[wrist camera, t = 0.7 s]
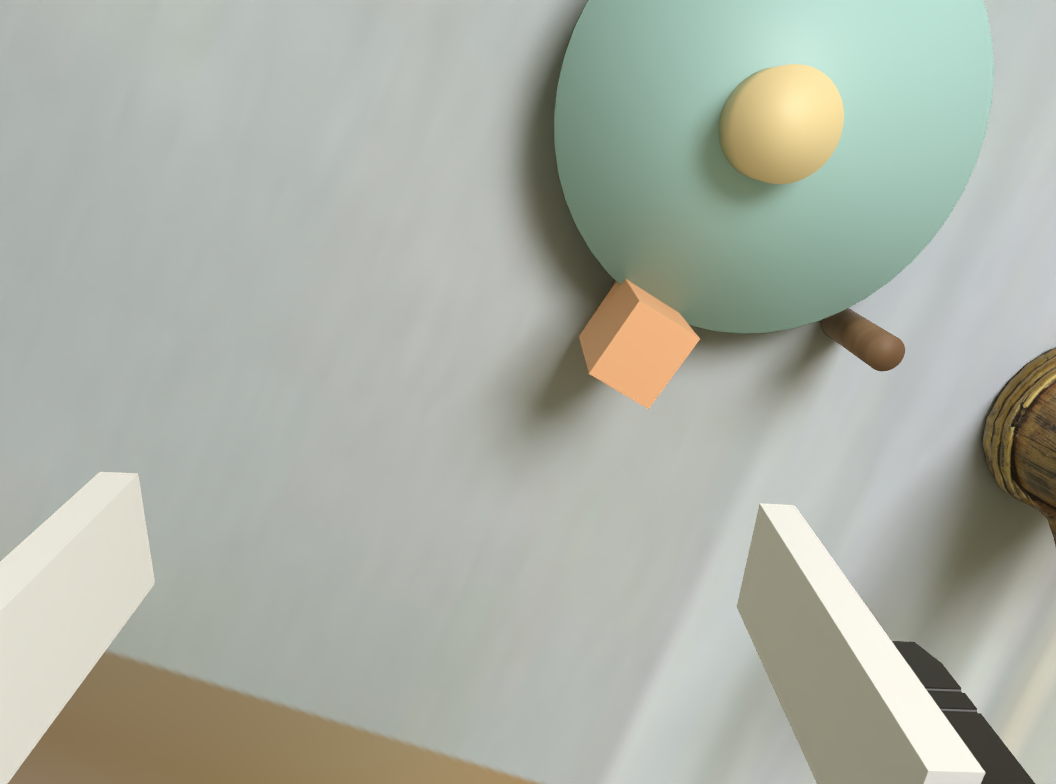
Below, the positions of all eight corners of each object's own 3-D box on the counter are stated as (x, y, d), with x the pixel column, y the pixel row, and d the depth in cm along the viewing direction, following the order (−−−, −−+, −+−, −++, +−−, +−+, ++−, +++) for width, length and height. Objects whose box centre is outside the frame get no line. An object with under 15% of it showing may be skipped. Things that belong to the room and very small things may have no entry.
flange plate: (441, 253, 32) (428, 278, 28) (725, -238, 26) (772, -318, 21) (751, 440, 36) (787, 491, 31) (1067, 50, 30) (1174, 38, 25)
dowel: (814, 326, 35) (859, 359, 31) (835, 299, 35) (885, 329, 30) (838, 342, 36) (887, 377, 31) (860, 316, 35) (912, 347, 30)
